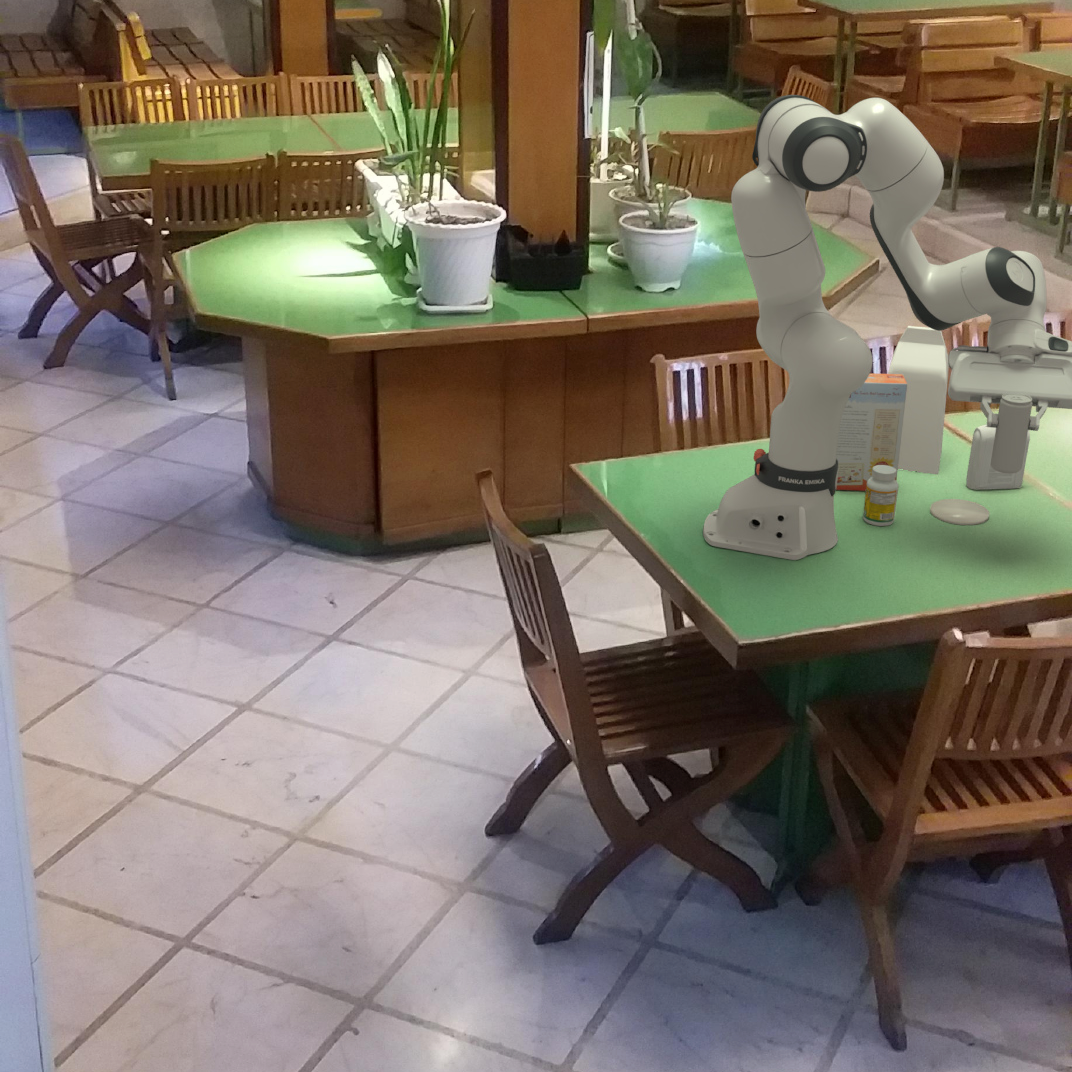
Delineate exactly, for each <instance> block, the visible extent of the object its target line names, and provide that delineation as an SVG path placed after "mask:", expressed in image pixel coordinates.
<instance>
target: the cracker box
mask: <svg viewBox="0 0 1072 1072" xmlns="http://www.w3.org/2000/svg"><path fill="white" fill-rule="evenodd" d="M906 391H907V382H906V380H905V378H904V376H903V374H888V373H876V372H875V373H874V372H873V373H871V372H870V374H869V376H868V378H867V380H866V381H865V382H864V384H863V385H862V386H861V387H860V388H858V389H857V390H856V391H854V392H852V393H851V395H850V397H849V399H848V401H847V403H846V406H845V409H844V411H843V415H842V418H841V423H840V430H839V438H838V447H837V455H836V459H837V460H838V468H839V469H838V480H837V488H836V491H856V492H857V491H862V492H866V485H867V481H868V480H869V479H870V478H871V477H872V468H873V467H874V466H876V465H887V466H891V467H893V468H895V469H896V477H895V480H896V481H897V478H898V471H899V470H898V462H899V454H900V445H901V436H902V427H903V418H904V409H905V400H906Z"/></svg>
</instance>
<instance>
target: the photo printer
mask: <svg viewBox="0 0 1072 1072" xmlns="http://www.w3.org/2000/svg"><path fill="white" fill-rule="evenodd" d="M995 432H996V428H992V427H987V423H986V424H983V425H980V426H977V427H976V428H974V431H973V434H972V440H971V447H970V454H969V458H968V465H967V473H966V479H965V481H966V482H965V484H966V486H967V488H968V489H970V490H1002V489H1003V490H1004V489H1006V490H1010V489H1020V488H1021V487H1022V485H1023V479H1024V474H1025V468H1026V462H1027V457H1028V450H1029V445H1030V440H1031V432H1030V430H1028V433H1027V439H1026V446H1025V452H1024V458H1023V464H1022V469H1021V470H1020V471H1018V472H1017V473H1012V474H1007V473H1001V472H998V471H996V470H994V469H993V468H992V466H991V458H992V451H993V445H994V438H995Z"/></svg>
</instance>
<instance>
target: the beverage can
mask: <svg viewBox="0 0 1072 1072" xmlns="http://www.w3.org/2000/svg"><path fill="white" fill-rule="evenodd" d="M1032 408H1033V406H1032V398H1031V397H1030V396H1028V395H1025V396H1021V395H1007V394H1003V395H1002V398H1001V400H1000V404H999V407H998V413H997V414H998V425H997V428H996V432H995V438H994V445H993V451H992V458H991V466H992V468H993V469H994V470H996V471H998V472H1001V473H1007V474H1012V473H1017V472H1018V471H1020V470H1021V469H1022V464H1023V458H1024V452H1025V446H1026V439H1027V433H1028V427H1029V421H1030V416H1032V415H1031V414H1032Z"/></svg>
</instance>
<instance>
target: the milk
mask: <svg viewBox="0 0 1072 1072" xmlns="http://www.w3.org/2000/svg"><path fill="white" fill-rule="evenodd" d="M902 333H903V334H902V335H901V336H900V337H899V340H898V342H897V345H896V347H895V349H894V352H893V354H892V357H891V362H890V365H889V369H888V372H887V374H903V376H904V378H905V380H906V382H907V391H906V400H905V409H904V418H903V427H902V436H901V445H900V454H899V462H898V469H903V470H908V471H907V472H912V471H917V472H916V473H920V472H922V474H929V473H930V475H939V474H940V473H939V472H940V466H941V460H940V459H941V458H942V451H943V438H944V437H943V436H944V426H945V417H946V406H947V405H946V403H947V394H948V382H949V381H948V380H949V368H950V367H949V365H948V355H949V353H948V349H947V346H946V341H945V340H944V339H945V337H944V336H943V332H942V331H938V330H934V329H932V328H929V327H928V326H925V327H924V326H913V325H907V327H906V328H905V330H904V331H903V332H902ZM903 470H902V471H903Z"/></svg>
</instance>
